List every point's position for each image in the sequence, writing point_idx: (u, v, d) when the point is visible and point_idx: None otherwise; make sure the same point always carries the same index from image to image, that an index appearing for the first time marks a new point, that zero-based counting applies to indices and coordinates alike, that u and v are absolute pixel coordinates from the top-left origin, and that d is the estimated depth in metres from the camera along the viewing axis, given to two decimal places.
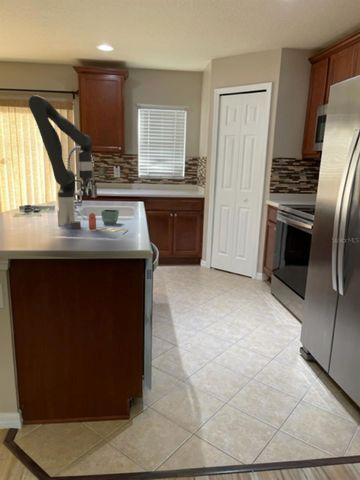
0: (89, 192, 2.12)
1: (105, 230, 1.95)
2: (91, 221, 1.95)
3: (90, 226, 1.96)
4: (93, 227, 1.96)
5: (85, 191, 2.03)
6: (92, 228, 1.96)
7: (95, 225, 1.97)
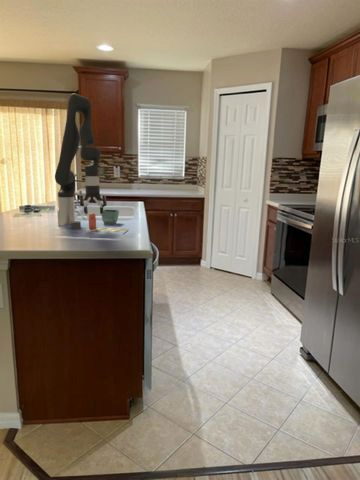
0: (86, 209, 1.96)
1: (105, 230, 1.95)
2: (91, 221, 1.95)
3: (90, 226, 1.96)
4: (93, 227, 1.96)
5: (103, 206, 1.96)
6: (92, 228, 1.96)
7: (95, 225, 1.97)
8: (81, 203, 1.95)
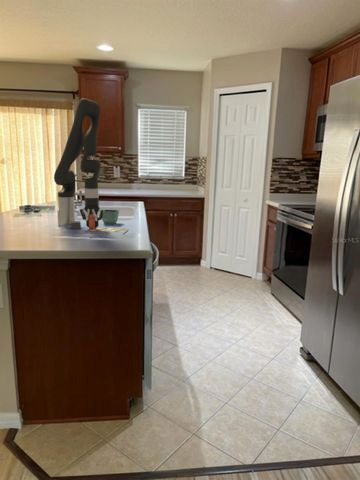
0: (88, 222, 1.97)
1: (105, 230, 1.95)
2: (91, 221, 1.95)
3: (90, 226, 1.96)
4: (93, 227, 1.96)
5: None
6: (92, 228, 1.96)
7: None
8: (83, 216, 1.96)
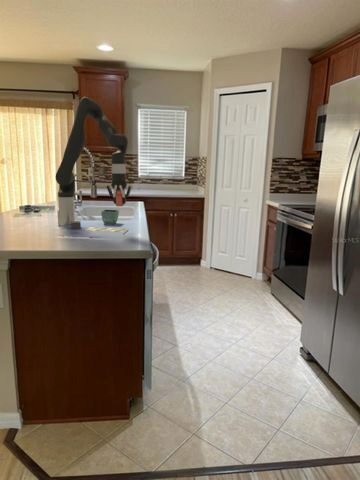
0: None
1: (105, 230, 1.95)
2: (118, 197, 1.91)
3: (117, 203, 1.92)
4: (120, 204, 1.92)
5: None
6: (119, 205, 1.92)
7: (122, 202, 1.93)
8: (110, 193, 1.92)
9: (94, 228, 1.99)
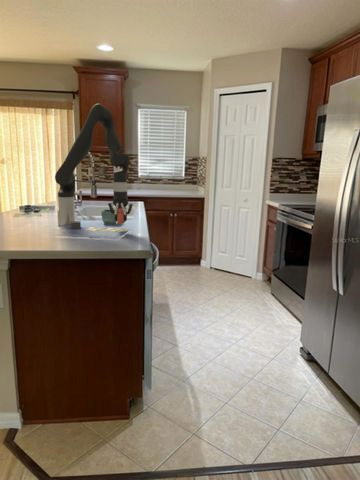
0: None
1: (105, 230, 1.95)
2: (120, 215, 1.93)
3: (119, 220, 1.94)
4: (122, 221, 1.94)
5: None
6: (121, 222, 1.94)
7: (123, 219, 1.95)
8: (111, 210, 1.94)
9: (94, 228, 1.99)
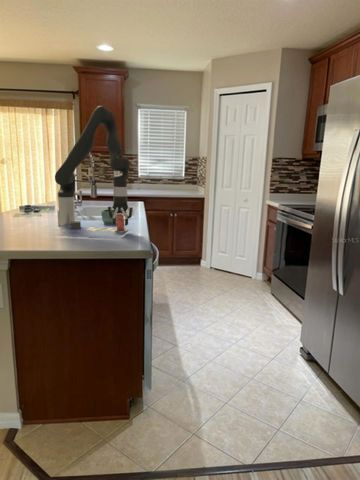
0: (115, 220, 1.96)
1: (105, 230, 1.95)
2: (119, 222, 1.94)
3: (118, 227, 1.95)
4: (121, 228, 1.95)
5: None
6: (120, 229, 1.95)
7: (123, 226, 1.96)
8: (110, 214, 1.94)
9: (94, 228, 1.99)
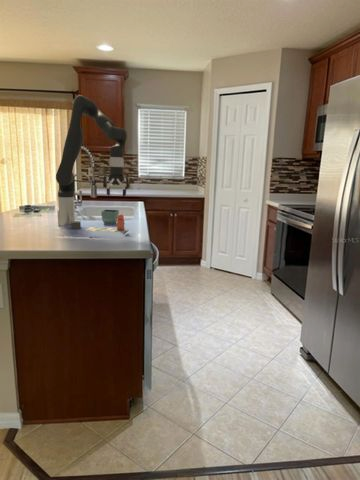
0: (109, 190, 1.93)
1: (105, 230, 1.95)
2: (119, 222, 1.94)
3: (118, 227, 1.95)
4: (121, 228, 1.95)
5: None
6: (120, 229, 1.95)
7: (123, 226, 1.96)
8: (104, 184, 1.92)
9: (94, 228, 1.99)
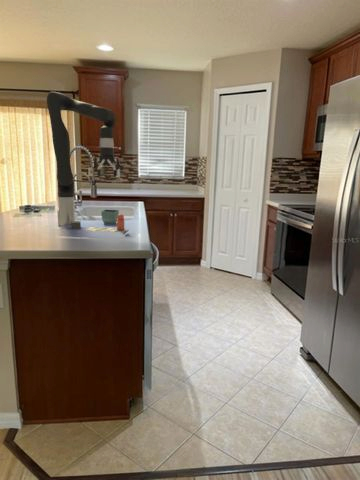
0: (100, 171, 1.97)
1: (105, 230, 1.95)
2: (120, 222, 1.94)
3: (118, 227, 1.95)
4: (121, 228, 1.95)
5: (116, 169, 1.96)
6: (120, 229, 1.95)
7: (123, 226, 1.96)
8: (95, 165, 1.95)
9: (94, 228, 1.99)
